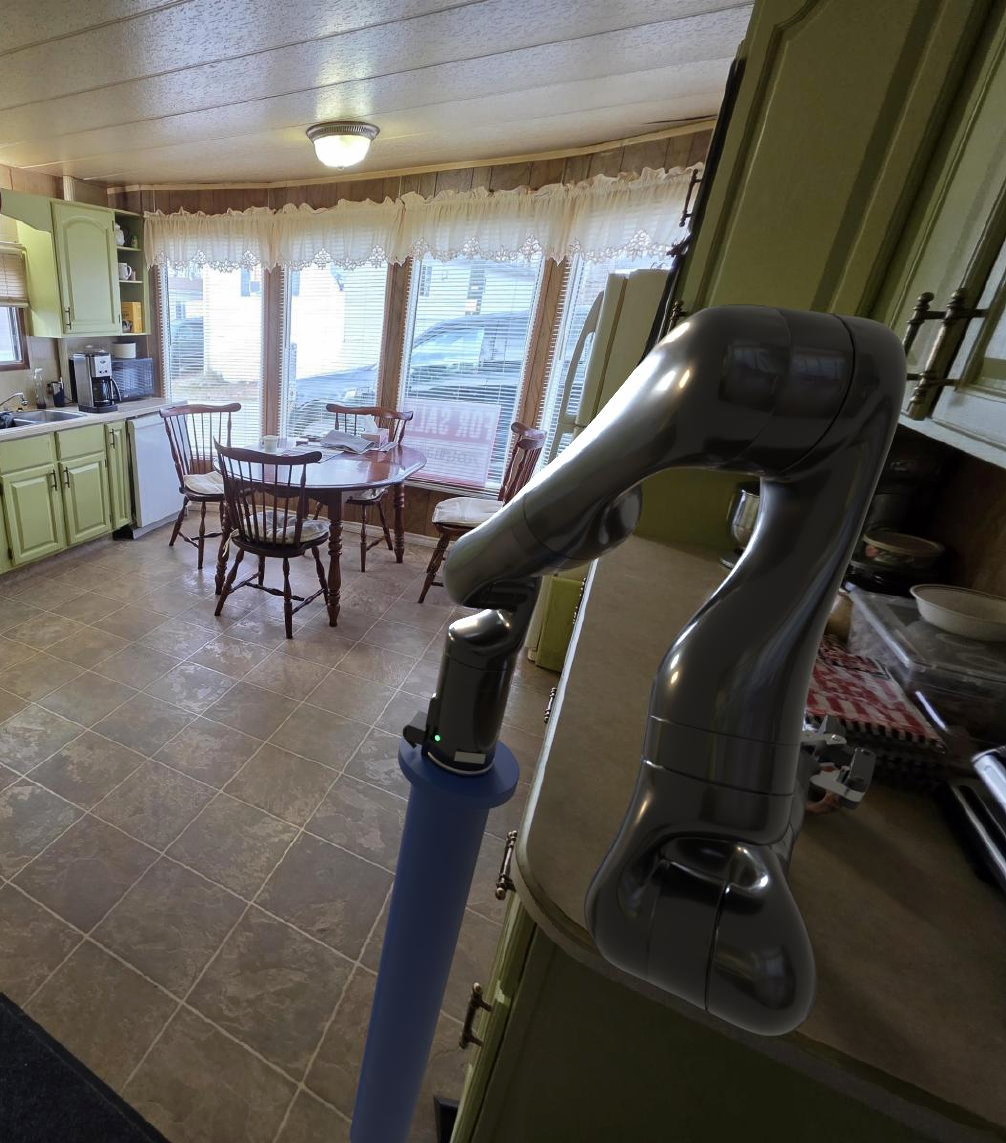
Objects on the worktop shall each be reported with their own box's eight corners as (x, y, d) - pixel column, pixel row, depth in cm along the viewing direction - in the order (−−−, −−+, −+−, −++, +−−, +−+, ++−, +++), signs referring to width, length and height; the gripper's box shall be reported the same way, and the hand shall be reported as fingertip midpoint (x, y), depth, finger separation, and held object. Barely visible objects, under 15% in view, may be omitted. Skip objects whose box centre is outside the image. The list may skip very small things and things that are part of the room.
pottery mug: (726, 771, 87) (766, 726, 85) (786, 808, 86) (827, 763, 85) (786, 815, 75) (833, 764, 73) (855, 858, 74) (904, 808, 73)
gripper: (891, 803, 40) (890, 703, 50) (645, 707, 49) (688, 640, 59) (843, 885, 43) (852, 774, 53) (619, 780, 52) (665, 703, 62)
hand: (766, 703), depth 56 cm, fingers open, 8 cm apart
